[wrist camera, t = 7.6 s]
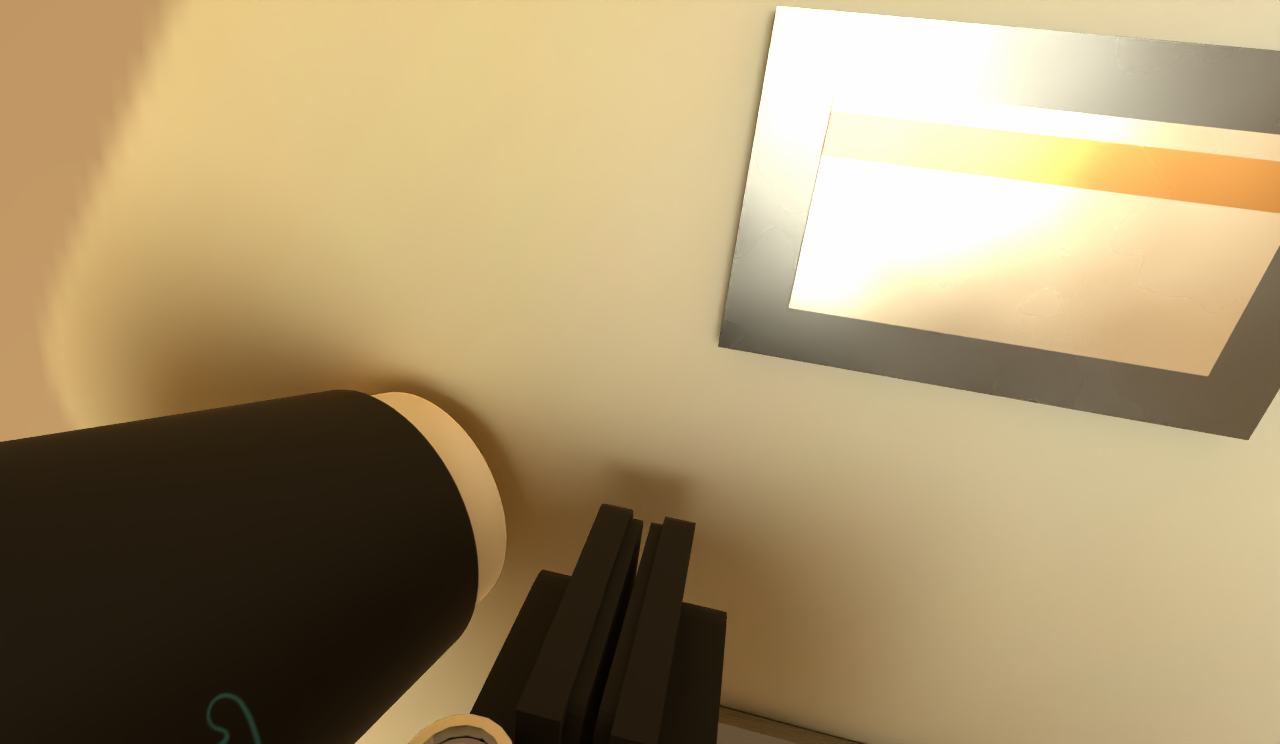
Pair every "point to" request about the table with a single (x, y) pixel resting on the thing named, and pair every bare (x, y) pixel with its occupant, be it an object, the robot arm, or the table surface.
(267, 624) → the dixie cup
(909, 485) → the table surface
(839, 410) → the table surface
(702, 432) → the table surface
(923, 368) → the label plate
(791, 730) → the label plate
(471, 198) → the table surface
